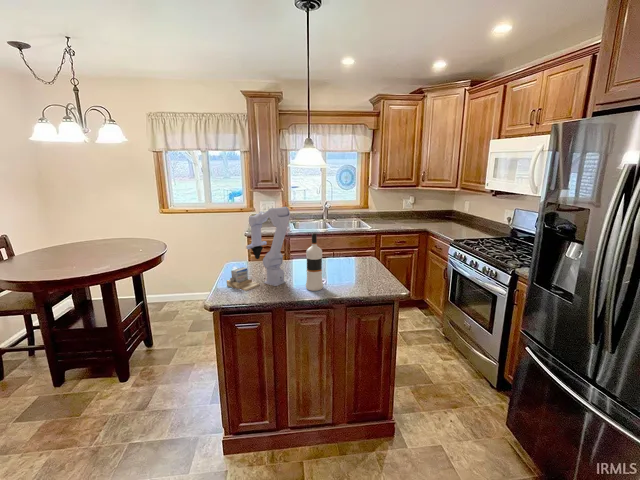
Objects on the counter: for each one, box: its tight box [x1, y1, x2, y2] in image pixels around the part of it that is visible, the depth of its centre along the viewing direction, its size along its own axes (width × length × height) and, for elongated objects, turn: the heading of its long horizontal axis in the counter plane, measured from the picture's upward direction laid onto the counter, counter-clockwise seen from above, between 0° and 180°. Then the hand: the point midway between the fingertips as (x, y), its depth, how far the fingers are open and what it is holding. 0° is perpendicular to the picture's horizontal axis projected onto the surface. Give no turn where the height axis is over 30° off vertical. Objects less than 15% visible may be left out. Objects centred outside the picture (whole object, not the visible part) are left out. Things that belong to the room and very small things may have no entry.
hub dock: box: [226, 276, 260, 292], centre depth 175 cm, size 14×11×5 cm
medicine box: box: [230, 266, 249, 283], centre depth 177 cm, size 8×4×9 cm, turn 144°
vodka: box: [305, 232, 324, 292], centre depth 168 cm, size 9×9×30 cm
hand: (257, 258), depth 190 cm, fingers closed
